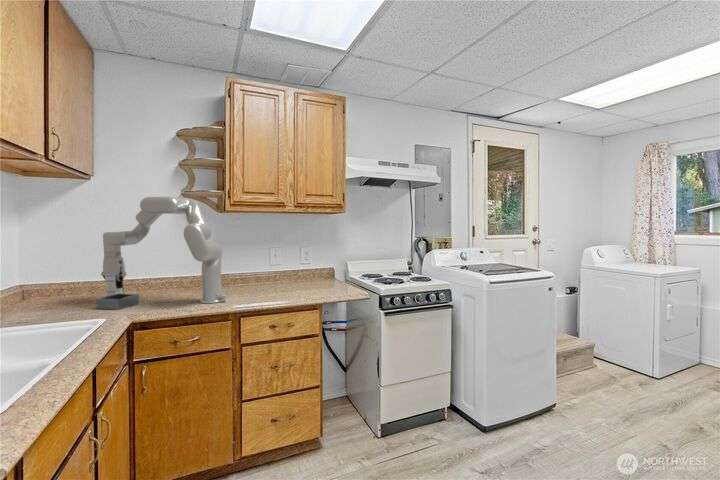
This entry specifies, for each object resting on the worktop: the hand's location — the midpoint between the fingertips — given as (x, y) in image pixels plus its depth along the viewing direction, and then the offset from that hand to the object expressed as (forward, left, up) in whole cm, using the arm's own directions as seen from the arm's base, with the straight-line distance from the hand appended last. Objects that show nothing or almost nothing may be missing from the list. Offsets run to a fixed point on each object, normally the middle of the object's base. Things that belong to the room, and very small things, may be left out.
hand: (114, 287), depth 191 cm
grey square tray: (-13, +10, -7) cm, 18 cm away
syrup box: (0, 0, -7) cm, 7 cm away
